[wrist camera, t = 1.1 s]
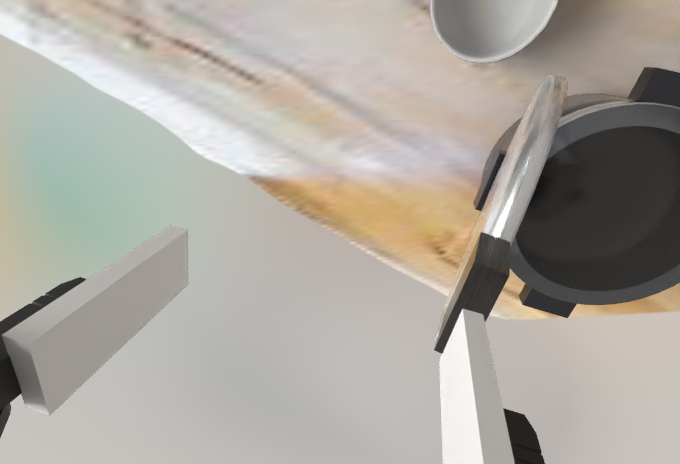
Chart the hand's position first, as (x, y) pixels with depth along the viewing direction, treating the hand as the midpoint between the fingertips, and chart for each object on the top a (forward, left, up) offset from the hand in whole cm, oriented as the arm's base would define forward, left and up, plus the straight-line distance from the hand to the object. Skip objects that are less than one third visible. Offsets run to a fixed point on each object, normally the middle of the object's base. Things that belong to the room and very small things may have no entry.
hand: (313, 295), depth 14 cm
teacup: (-16, +4, -36) cm, 39 cm away
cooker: (0, +22, -36) cm, 42 cm away
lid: (0, +10, -13) cm, 16 cm away
